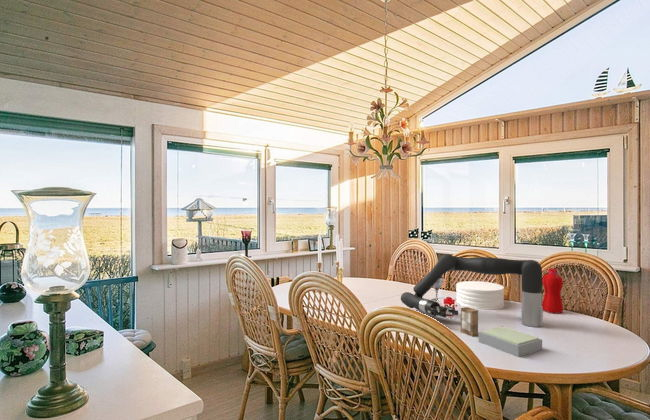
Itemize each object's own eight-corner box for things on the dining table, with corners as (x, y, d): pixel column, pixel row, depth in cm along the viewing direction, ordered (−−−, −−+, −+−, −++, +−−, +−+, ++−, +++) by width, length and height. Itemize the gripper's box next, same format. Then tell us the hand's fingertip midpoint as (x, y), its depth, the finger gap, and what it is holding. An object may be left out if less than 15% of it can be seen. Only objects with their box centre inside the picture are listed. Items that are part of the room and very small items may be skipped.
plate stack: (489, 312, 226) (489, 292, 226) (447, 302, 248) (447, 285, 248) (512, 304, 244) (512, 286, 244) (471, 296, 266) (471, 279, 265)
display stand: (542, 349, 168) (542, 338, 168) (518, 356, 161) (518, 344, 161) (501, 335, 186) (501, 325, 186) (478, 341, 178) (478, 330, 178)
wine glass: (443, 301, 251) (443, 278, 250) (430, 301, 252) (430, 277, 252) (442, 298, 258) (442, 276, 258) (430, 298, 260) (430, 275, 260)
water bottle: (552, 315, 220) (553, 270, 219) (539, 309, 231) (539, 267, 230) (567, 314, 221) (568, 270, 221) (554, 309, 232) (554, 267, 232)
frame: (478, 335, 187) (478, 310, 187) (472, 336, 185) (472, 311, 185) (466, 330, 194) (466, 306, 193) (460, 332, 192) (460, 308, 191)
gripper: (419, 301, 210) (441, 308, 196) (439, 298, 217) (461, 305, 202) (419, 315, 210) (441, 323, 196) (438, 311, 217) (461, 319, 203)
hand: (451, 314), depth 199 cm, fingers open, 8 cm apart
